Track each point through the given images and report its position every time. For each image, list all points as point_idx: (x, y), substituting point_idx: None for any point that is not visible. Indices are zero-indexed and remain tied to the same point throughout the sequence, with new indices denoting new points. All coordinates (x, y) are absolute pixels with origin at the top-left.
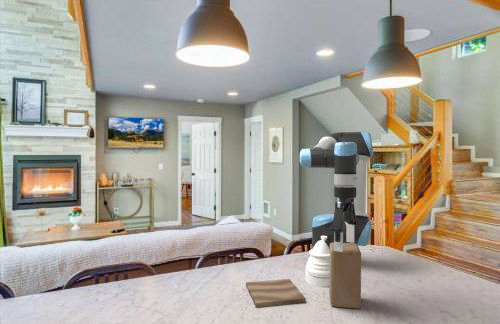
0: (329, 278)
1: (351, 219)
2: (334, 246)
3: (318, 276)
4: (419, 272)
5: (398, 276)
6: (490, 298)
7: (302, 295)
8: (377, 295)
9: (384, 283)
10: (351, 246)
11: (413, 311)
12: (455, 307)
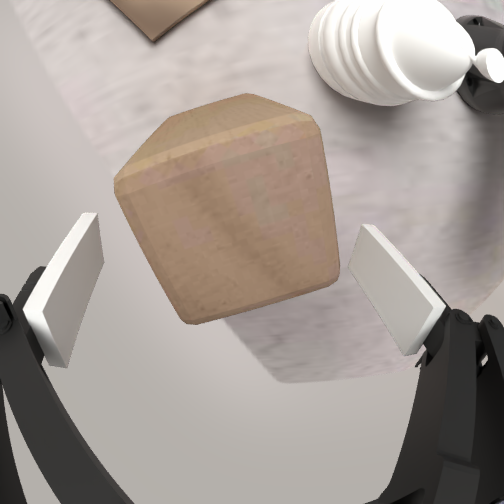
0: (253, 96)
1: (421, 389)
2: (72, 230)
3: (321, 41)
4: (455, 284)
5: (436, 253)
6: (356, 374)
7: (169, 23)
8: None
9: (394, 230)
10: (251, 278)
11: None
12: (304, 349)
